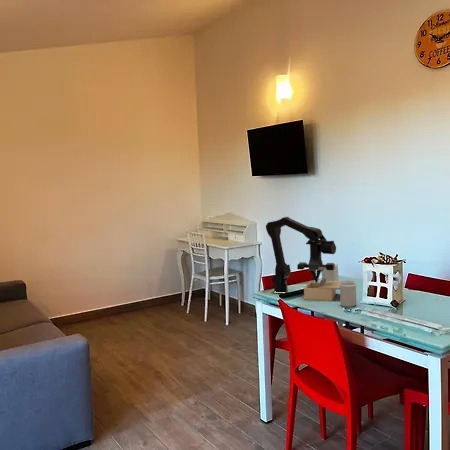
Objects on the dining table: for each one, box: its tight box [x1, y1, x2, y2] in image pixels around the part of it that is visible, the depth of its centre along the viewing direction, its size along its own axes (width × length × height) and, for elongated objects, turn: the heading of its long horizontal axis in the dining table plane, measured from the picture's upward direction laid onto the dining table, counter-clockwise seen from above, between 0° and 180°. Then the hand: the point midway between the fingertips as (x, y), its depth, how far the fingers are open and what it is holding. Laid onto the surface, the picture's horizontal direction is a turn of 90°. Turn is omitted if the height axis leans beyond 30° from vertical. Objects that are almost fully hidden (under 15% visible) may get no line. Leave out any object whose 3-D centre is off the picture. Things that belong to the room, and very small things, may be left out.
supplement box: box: [321, 263, 340, 281], centre depth 268 cm, size 7×7×13 cm
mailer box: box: [303, 281, 337, 302], centre depth 249 cm, size 14×14×6 cm
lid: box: [318, 278, 341, 290], centre depth 246 cm, size 14×14×3 cm
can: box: [339, 279, 357, 308], centre depth 230 cm, size 8×8×12 cm
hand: (316, 282), depth 249 cm, fingers closed
